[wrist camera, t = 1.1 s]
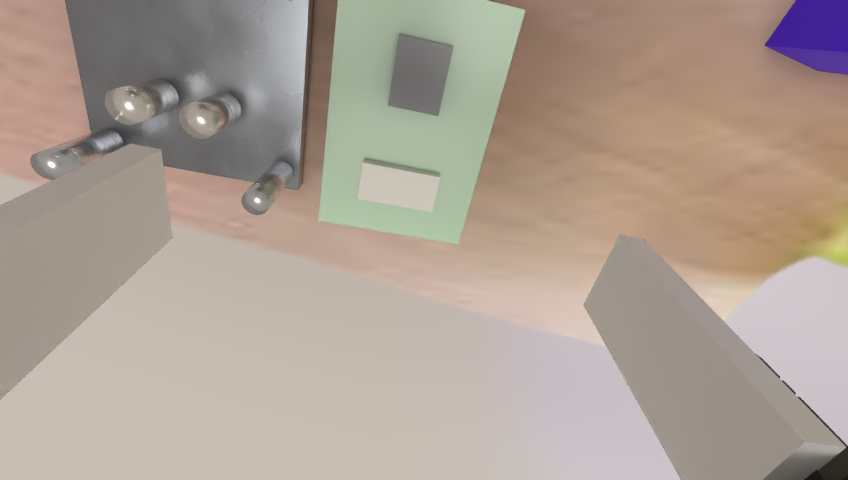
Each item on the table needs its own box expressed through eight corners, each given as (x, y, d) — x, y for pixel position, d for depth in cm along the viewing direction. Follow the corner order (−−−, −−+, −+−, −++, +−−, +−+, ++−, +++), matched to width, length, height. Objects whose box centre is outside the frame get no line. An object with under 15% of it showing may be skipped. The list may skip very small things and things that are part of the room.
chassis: (44, -191, 20) (-105, -274, 15) (320, -117, 22) (286, -165, 16) (106, 148, 29) (28, 181, 23) (302, 184, 31) (275, 223, 25)
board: (351, -29, 19) (337, -39, 16) (511, 10, 20) (530, 9, 17) (328, 198, 25) (315, 227, 21) (453, 221, 26) (459, 251, 22)
